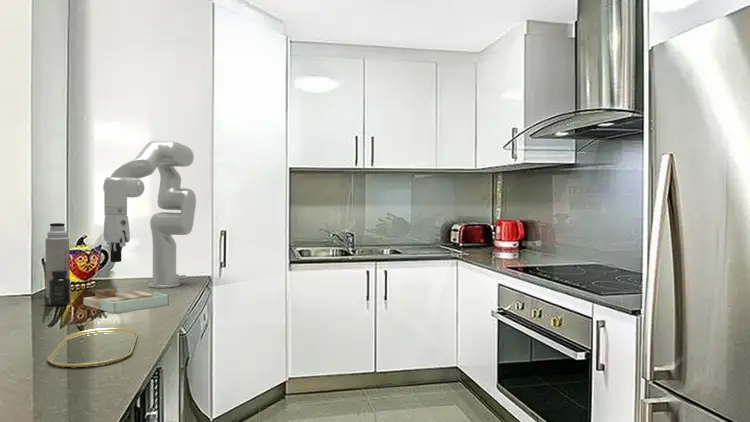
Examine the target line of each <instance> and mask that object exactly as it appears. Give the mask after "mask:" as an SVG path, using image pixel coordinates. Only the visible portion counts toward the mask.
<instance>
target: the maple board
mask: <svg viewBox="0 0 750 422" xmlns="http://www.w3.org/2000/svg"><path fill="white" fill-rule="evenodd" d="M147 296H153V293H150V292H144V291H140V290H132V291H123V292H118V293H117V292H116V297H111V298H104V299H103V300H106V301H110V302H116V301H123V300H129V299H136V298H140V297H147ZM100 299H101V298H97V297H95V296H88V297H87V296H86V297H83V300H82V301H83V302H82V303H83V306H87V307H91V308H94V309H97V310H100Z"/></svg>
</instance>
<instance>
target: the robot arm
mask: <svg viewBox="0 0 750 422" xmlns="http://www.w3.org/2000/svg"><path fill="white" fill-rule="evenodd" d="M193 163H194V152H193V150H192V149H191V148H190V147H189V146H187V145H185V144H182V143H180V142H178V141H174V140H152V141H149V142H147V143H146V144H145V146H144V147H143V148H142V150H141V151H140V152H139V153H138V155H137V156H136V157H135V158H134V159H132V160H130V161H127V162H126V163H123V164H121V165H119V166H117V167H116V168H114V169H113V170H111V171H110V173H109V174H108V175H107V177H106V178H105V179H104V181H103V187H102V189H103V192H104V193H103V194H104V195H103V196H104V198H103V199H104V200H103V201H104V202H103V205H104V206H103V207H104V210H103V211H104V222H103V241H105V242H106V245H107V246H108V247H109V251H110V262H111V263H119V262H122V251H123V248H124V247H126V246H127V245H126V244H127V243H129V242H130V240H131V237H130V236H131V234H130V233H131V232H130V223H129V217H128V216H129V215H128V198H138V197H140V196H142V195H143V193H144V191H145V183H144V182H143V181H142V178H145V177H149V176H151V175H152V174H153V173H154V172H155V171H156V169H157V170H158V172H159V177H160V181H159V189H158V195H157V206H158V208H159V209H160V210H163V211H162V212H156V213H154V214H153V215H152V216H151V217H150V220H149V221H150V222H149V225H150V230H151V237H152V238H151V239H152V282H149V283H148V287H149V288H153V289H154V288H155V289H163V288H164V289H165V288H175V287H176V288H177V287H179V286H180V285H181V282H180V281H181V280H182V281H183V280H186V279H187V275H186V274H182V275H179V274H177V243H176V241H175V239H174V237H173V236H185V235H189V234H191V232H192V230H193V227H194V220H195V214H196V207H197V205H196V204H197V198H196V194H195V192H194V190H192V189H191V188H181V185H182V178H181V175H180V173H179V172H178V170H177V169H176V167H184V168H185V167H190V166H191V165H192V164H193ZM164 210H166V212H164ZM167 211H172V212H167ZM173 211H180V212H173Z"/></svg>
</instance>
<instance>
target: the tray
mask: <svg viewBox="0 0 750 422" xmlns="http://www.w3.org/2000/svg"><path fill="white" fill-rule="evenodd" d="M152 294H153V296H152V297H151V298H144V299H137V298H136V299H129V300H123V301H116V302H110V301H106V300H103V299H100V309H99V310H101V311H104V312H108V313H111V314H121V313H127V312H133V311H139V310H143V309H144V310H145V309H151V308H158V307H163V306H164V307H165V306H168V305H169V303H170V302H169V301H170V298H169V297H170V295H169V294H165V293H161V292H157V291H152Z"/></svg>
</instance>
